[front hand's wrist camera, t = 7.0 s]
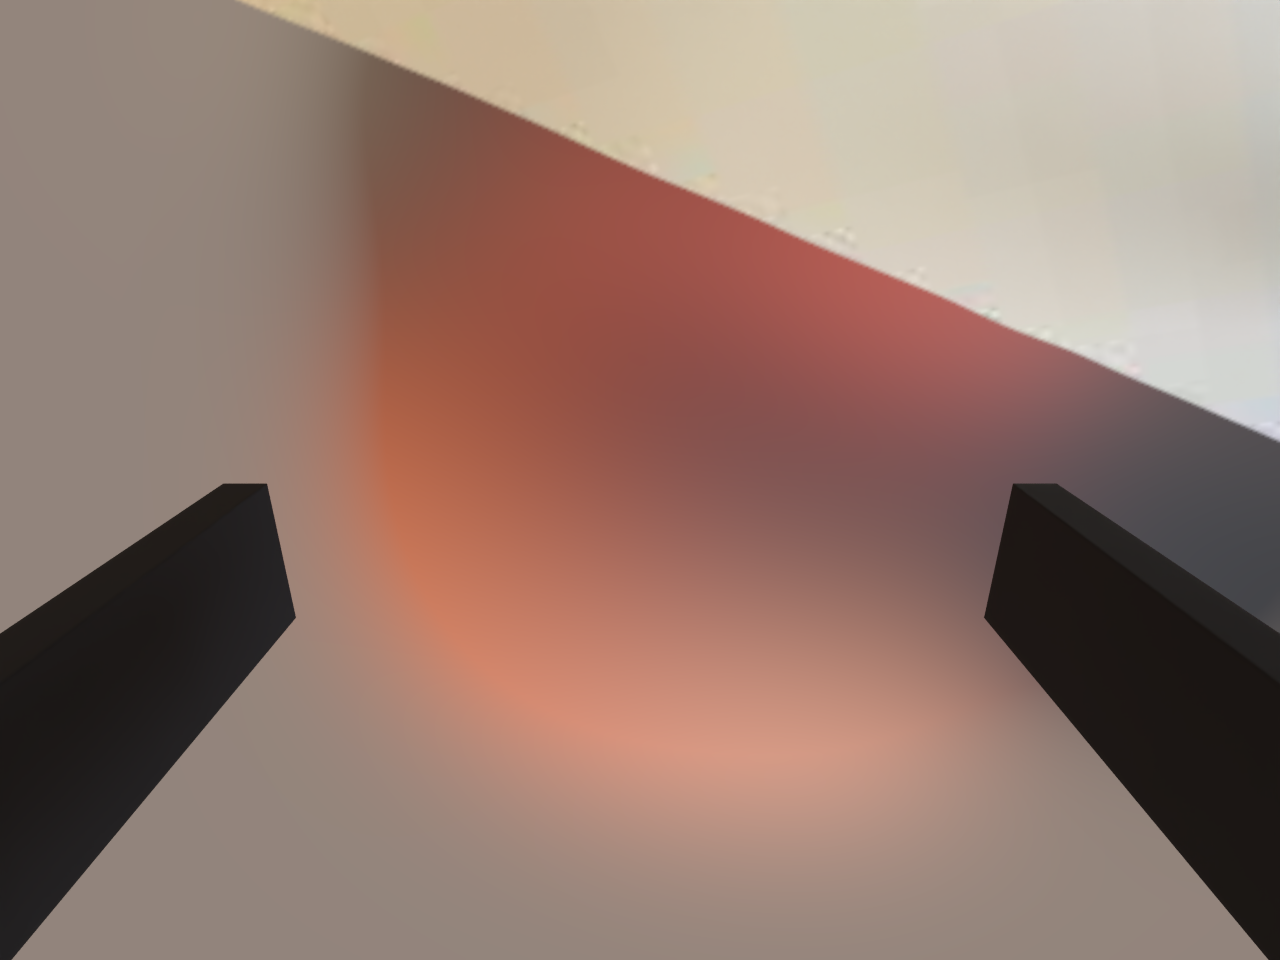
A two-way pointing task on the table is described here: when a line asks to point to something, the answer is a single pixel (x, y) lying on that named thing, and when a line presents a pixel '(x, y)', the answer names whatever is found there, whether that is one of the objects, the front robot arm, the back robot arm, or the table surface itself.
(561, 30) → the table surface
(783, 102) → the table surface
